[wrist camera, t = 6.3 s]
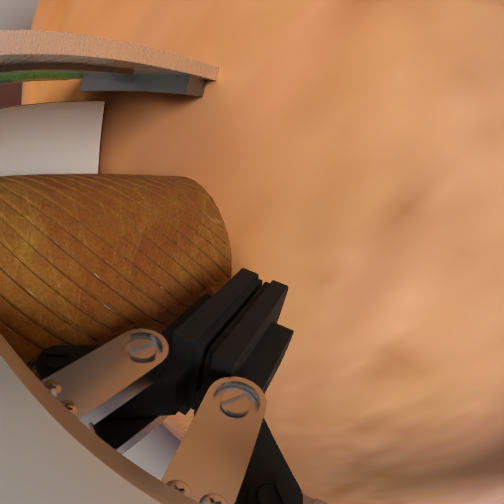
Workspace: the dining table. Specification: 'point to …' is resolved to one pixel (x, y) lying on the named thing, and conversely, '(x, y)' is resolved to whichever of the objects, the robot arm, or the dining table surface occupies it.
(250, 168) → the dining table surface
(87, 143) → the pale grey flat panel
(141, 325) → the disposable coffee cup
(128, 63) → the gauge frame
